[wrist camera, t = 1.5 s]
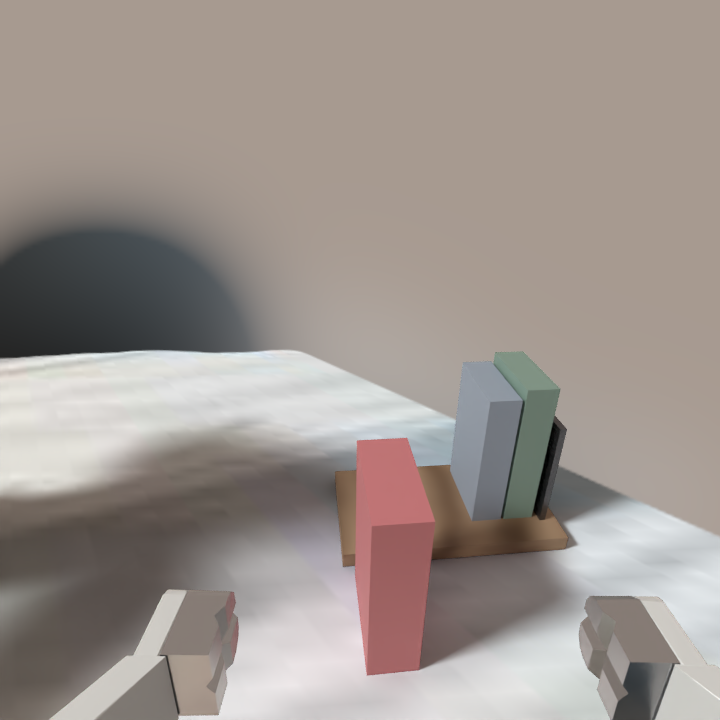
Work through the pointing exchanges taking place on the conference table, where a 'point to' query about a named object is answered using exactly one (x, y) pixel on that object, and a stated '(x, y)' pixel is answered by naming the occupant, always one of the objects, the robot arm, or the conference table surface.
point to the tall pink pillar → (391, 554)
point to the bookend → (549, 468)
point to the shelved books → (502, 435)
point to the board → (454, 522)
